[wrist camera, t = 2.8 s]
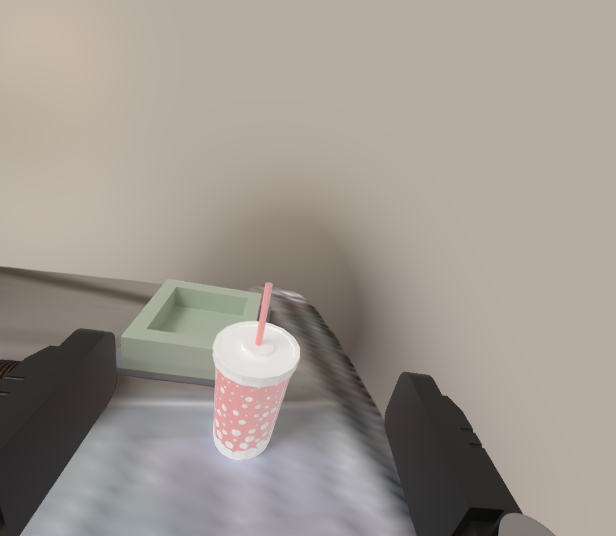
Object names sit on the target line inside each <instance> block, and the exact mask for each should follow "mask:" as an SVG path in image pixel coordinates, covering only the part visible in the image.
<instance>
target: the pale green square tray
mask: <svg viewBox="0 0 616 536" xmlns="http://www.w3.org/2000/svg"><path fill="white" fill-rule="evenodd" d="M261 295H262V294H260V293H254V292H247V291H241V290H235V289H229V288H222V287H216V286H210V285H203V284H197V283H191V282H185V281H179V280H172V279H167V280H166V281H165V282H164V284H163V285H162V286H161V287H160V289H159V290H158V291H157V292H156V294H155V295H154V296H153V297H152V299H151V300H150V301H149V302H148V303H147V305H146V306H145V307H144V308H143V310H142V311H141V312H140V313H139V315H138V316H137V317H136V318H135V320H134V321H133V322H132V323H131V325H130V326H129V327H128V328H127V329H126V331H125V332H124V333H123V334H122V336H121V345H120V346H119V348H118V349H117V350H116V365H117V374H118V375H126V376H134V377H142V378H150V379H158V380H166V381H174V382H182V383H190V384H198V385H206V386H215V370H216V367H215V364H214V359H213V355H212V354H213V344H214V341H215V339H216V336H217V334H218V333H220V332H221V331H222V330H223V329H224V328H226V327H227V326H230V325H233V324H236V323H238V322H246V321H259V318H260V312H261V307H262V306H261V305H260V301H261ZM270 312H271V307H269V308H268V313H267V318H266V323H269V320H270Z"/></svg>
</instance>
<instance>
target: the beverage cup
mask: <svg viewBox="0 0 616 536" xmlns="http://www.w3.org/2000/svg"><path fill="white" fill-rule="evenodd" d="M272 286H273V284H272V283H270V282H267V283H266V284H265V289H264V295H263V301H262V307H261V312H260V318H259V321H246V322H238V323H236V324H233V325H230V326H227V327H226V328H224V329H223V330H222V331H221V332H220V333H218V334H217V336H216V339H215V341H214V344H213V354H212V355H213V359H214V364H215V367H216V370H215V399H214V428H213V436H214V441H215V445H216V447H217V448H218V449H219V451H220V452H221V453H222V454H223V455H225V456H227V457H229V458H231V459H236V460H247V459H251V458H254V457H256V456H257V455H259V454H260V453H261V452H263V451H264V450H265V448H266V446H267V445H268V443H269V441H270V438H271V435H272V432H273V429H274V426H275V422H276V419H277V416H278V413H279V410H280V407H281V404H282V401H283V398H284V395H285V392H286V389H287V386H288V383H289V379H290V377H291V376H292V374H293V373H294V371H295V369H296V368H297V364H298V362H299V359H300V347H299V345H298V343H297V342H296V340H295V338H294V337H293V336H292V335H291V334H289V333H288V332H287V331H286V330H284V329H283V328H280V327H278V326H275V325H273V324H271V323H266V318H267V313H268V308H269V302H270V297H271V291H272Z"/></svg>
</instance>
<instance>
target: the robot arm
mask: <svg viewBox="0 0 616 536" xmlns="http://www.w3.org/2000/svg"><path fill="white" fill-rule="evenodd" d="M116 382H117V365H116V347H115V336H114V334H113V333H111V332H105V331H98V330H90V329H82V328H80V329H78V330H76V331H75V332H73V333H72V334H71V335H70V336H69V337H68V338H67V339H66V340H65V341H64V342H63V343H62V344H61V345H60V346H59V347H58V346H49V347H47V348H45V349H43V350H41V351H39V352H37V353H35V354H33V355H31V356H29V357H27V358H25V359H24V360H23V361H22V362H21V363H19V364H18V365H17V366H16V367H15V368H14V369H13V370H11V371H10V372H9V373H8V374H7V375H6V377H5V379H1V380H0V536H19V535H20V534H21V532H22V531H23V529H24V528H25V527H26V525H27V524H28V522H29V521H30V519H31V518H32V516H33V515H34V513H35V512H36V510H37V509H38V507H39V506H40V504H41V503H42V501H43V500H44V498H45V497H46V495H47V494H48V492H49V491H50V489H51V488H52V486H53V485H54V483H55V482H56V480H57V479H58V477H59V476H60V474H61V473H62V471H63V470H64V468H65V467H66V465H67V464H68V462H69V461H70V459H71V458H72V456H73V455H74V453H75V452H76V450H77V449H78V447H79V446H80V444H81V443H82V441H83V440H84V438H85V437H86V435H87V434H88V432H89V431H90V429H91V428H92V426H93V425H94V423H95V422H96V420H97V419H98V417H99V416H100V414H101V413H102V412H103V410H104V409H105V407H106V406H107V404H108V403H109V401H110V399H111V397H112V395H113V393H114V390H115V387H116ZM385 430H386V434H387V437H388V441H389V444H390V447H391V451H392V454H393V457H394V461H395V464H396V467H397V471H398V474H399V478H400V481H401V484H402V488H403V491H404V494H405V498H406V501H407V504H408V508H409V511H410V514H411V518H412V521H413V524H414V528H415V531H416V534H417V536H555V535H554V534H553V533H552V532H551V531H550V530H549V529H548V528H546V527H545V526H544V525H542V524H541V523H539V522H538V521H536V520H534V519H532V518H530V517H528V516H525V515H523V514H522V512H521V510H520V508H519V507H518V505H517V503H516V502H515V500H514V499H513V496H512V495H511V493H510V492H509V490H508V488H507V486H506V485H505V483H504V481H503V479H502V478H501V476H500V474H499V473H498V471H497V469H496V468H495V466H494V464H493V462H492V461H491V459H490V457H489V456H488V454H487V452H486V451H485V449H484V448H482V444H481V442H480V440H479V439H478V437H477V435H476V434H475V433H473V429H472V427H471V425H470V423H469V422H468V420H467V418H466V417H465V415H464V413H463V412H462V411H461V409H460V408H459V407H458V406H457V405H456V404H455V403H454V402H453V401H452V400H451V399H450V398H449V397H448V396H443V395H442V394H441V392H440V390H439V389H438V387H437V385H436V383H435V381H434V380H433V378H432V377H431V376H429V375H424V374H417V373H409V372H403V373H402V374H401V375H400V377H399V379H398V381H397V384H396V386H395V389H394V391H393V394H392V396H391V399H390V401H389V404H388V406H387V409H386V413H385Z"/></svg>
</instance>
